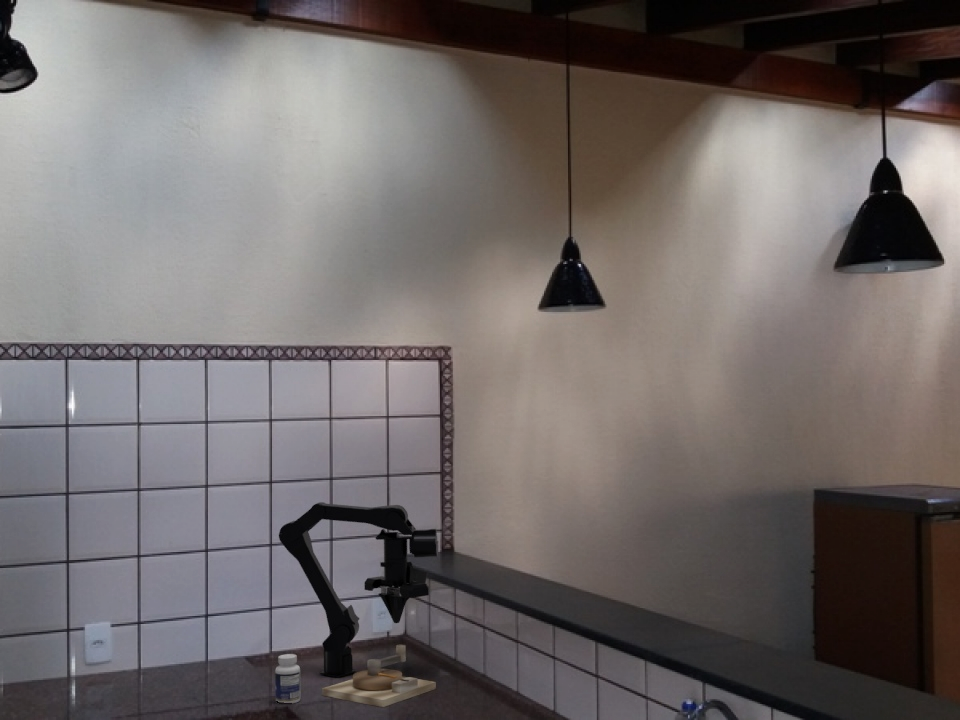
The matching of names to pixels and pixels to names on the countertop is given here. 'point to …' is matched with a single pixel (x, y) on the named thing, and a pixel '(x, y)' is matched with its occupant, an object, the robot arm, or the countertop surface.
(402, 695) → the stand
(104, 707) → the countertop surface
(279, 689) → the pill bottle
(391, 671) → the crank handle
